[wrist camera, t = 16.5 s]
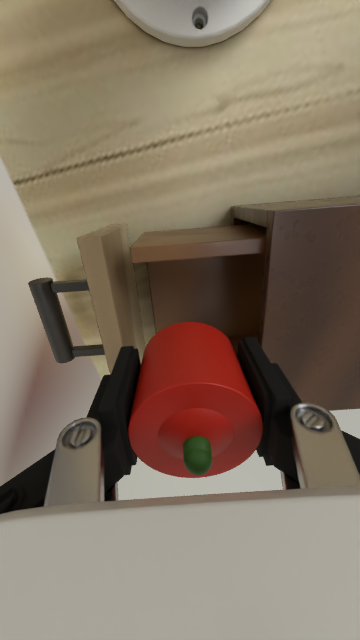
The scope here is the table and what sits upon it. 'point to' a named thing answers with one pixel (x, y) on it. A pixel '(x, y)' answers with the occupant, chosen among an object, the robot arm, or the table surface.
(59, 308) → the drawer
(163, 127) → the table surface
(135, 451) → the pepper
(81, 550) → the robot arm
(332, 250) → the cabinet
